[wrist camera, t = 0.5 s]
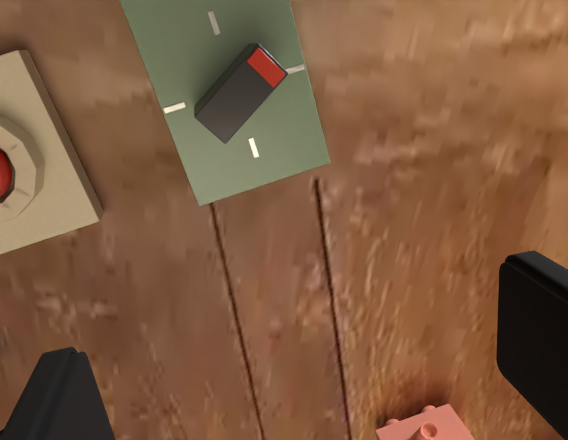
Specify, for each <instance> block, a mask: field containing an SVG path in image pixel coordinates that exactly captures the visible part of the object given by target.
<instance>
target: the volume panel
mask: <svg viewBox="0 0 568 440" xmlns="http://www.w3.org/2000/svg"><path fill="white" fill-rule="evenodd" d="M120 3H121V5H122V8H123V11H124V13H125V16H126V19H127V21H128V24H129V26H130V29H131V32H132V34H133V37H134V39H135V42H136V45H137V47H138V50H139V52H140V55H141V58H142V60H143V63H144V65H145V68H146V71H147V73H148V76H149V78H150V81H151V84H152V86H153V89H154V91H155V94H156V97H157V99H158V102H159V104H160V107H161V110H162V112H163V115H164V118H165V120H166V123H167V125H168V128H169V131H170V133H171V136H172V138H173V141H174V144H175V146H176V149H177V151H178V154H179V157H180V159H181V162H182V164H183V167H184V170H185V172H186V175H187V177H188V180H189V183H190V185H191V188H192V190H193V193H194V196H195V198H196V201H197V203H198V206H199V207H200V206H203V205H206V204H209V203H212V202H215V201H218V200H221V199H224V198H227V197H230V196H233V195H235V194H238V193H241V192H244V191H247V190H250V189H253V188H256V187H259V186H262V185H265V184H268V183H271V182H274V181H277V180H280V179H283V178H286V177H289V176H292V175H295V174H298V173H301V172H304V171H307V170H310V169H313V168H316V167H319V166H322V165H325V164H328V163H330V158H329V155H328V151H327V147H326V143H325V139H324V135H323V131H322V127H321V123H320V119H319V115H318V112H317V108H316V104H315V100H314V96H313V92H312V88H311V84H310V80H309V76H308V72H307V69H306V65H305V61H304V57H303V53H302V49H301V45H300V41H299V37H298V33H297V29H296V25H295V22H294V18H293V14H292V10H291V6H290V2H289V0H120ZM249 43H259V44H260V45H261V46H262V47H263V48H264V49H265V50H266V51H267V52H268V53H269V54H270V55H271V56H272V57H273V58H274V59H275V60H276V61H277V62H278V63H279V64H280V65H281V66H282V67H283V68H284V69H285V70H286V71H287V72H288V75H287V76H286V77H285V78H284V80H283V81H282V82H281V83H280V84H279V85H278V86H277V87H276V89H275V90H274V91H273V92H272V93H271V94H270V95H269V96H268V97H267V99H266V100H265V101H264V102H263V103H262V104H261V105H260V106H259V107H258V109H257V110H256V111H255V112H254V113H253V114H252V115H251V116H250V118H249V119H248V120H247V121H246V122H245V123H244V124H243V125H242V126H241V128H240V129H239V130H238V131H237V132H236V133H235V134H234V135H233V137H232V138H231V139H230V140H229V141H228V142H227V143H226V144H224V143H223V142H222V141H221V140H220V139H219V138H217V137H216V136H215V135H214V134H213V133H212V132H211V131H209V130H208V129H207V128H206V127H205V126H204V125H203V124H201V123H200V122H199V121H198V120H197V119H196V118H195V117H194V106H195V105H196V104H197V103H198V101H199V100H200V99H201V98H202V97H203V96H204V95H205V93H206V92H207V91H208V90H209V89H210V88H211V86H212V85H213V84H214V83H215V82H216V81H217V80H218V78H219V77H220V76H221V75H222V74H223V73H224V72H225V70H226V69H227V68H228V67H229V66H230V65H231V64H232V62H233V61H234V60H235V59H236V58H237V57H238V55H239V54H240V53H241V52H242V51H243V50H244V49H245V47H246V46H247V45H248V44H249Z"/></svg>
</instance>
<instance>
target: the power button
mask: <svg viewBox="0 0 568 440" xmlns="http://www.w3.org/2000/svg"><path fill="white" fill-rule="evenodd" d="M11 181H12V171H11V167H10V164H9V162H8V160H7V159H6V157H5V156H4V155H3V154H2V153H1V152H0V197H1V196H3V195H4V194H5V193H6V192H7V190H8V189H9V187H10V185H11Z"/></svg>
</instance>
